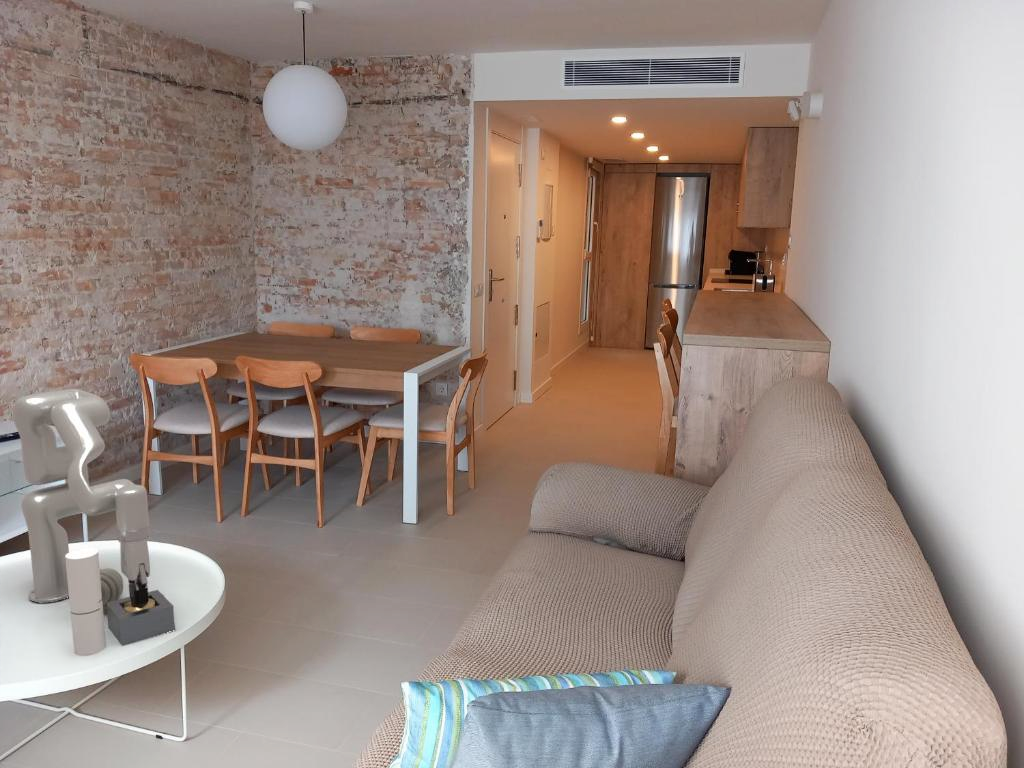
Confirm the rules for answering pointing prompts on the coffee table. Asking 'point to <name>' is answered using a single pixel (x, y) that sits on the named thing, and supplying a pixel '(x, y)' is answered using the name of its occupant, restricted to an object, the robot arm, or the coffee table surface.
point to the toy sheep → (110, 586)
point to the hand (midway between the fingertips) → (139, 599)
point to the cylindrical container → (85, 601)
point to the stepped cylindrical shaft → (131, 605)
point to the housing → (140, 619)
